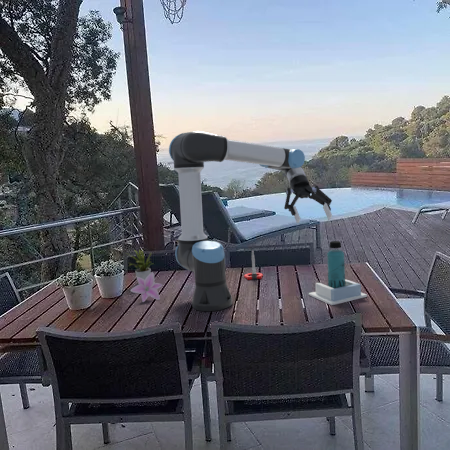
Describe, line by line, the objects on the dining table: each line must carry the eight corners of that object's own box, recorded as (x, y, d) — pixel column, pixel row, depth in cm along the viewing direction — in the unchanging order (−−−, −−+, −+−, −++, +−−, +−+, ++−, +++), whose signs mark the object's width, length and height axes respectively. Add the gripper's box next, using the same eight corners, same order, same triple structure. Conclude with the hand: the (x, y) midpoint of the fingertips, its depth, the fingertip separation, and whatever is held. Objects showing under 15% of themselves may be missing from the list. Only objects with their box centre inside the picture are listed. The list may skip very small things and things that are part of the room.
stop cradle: (331, 305, 153) (331, 292, 152) (308, 295, 166) (308, 283, 165) (367, 296, 159) (366, 284, 159) (342, 287, 172) (342, 275, 171)
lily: (127, 304, 174) (129, 287, 169) (136, 285, 184) (138, 268, 179) (156, 311, 174) (159, 294, 169) (163, 292, 184) (166, 275, 179)
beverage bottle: (327, 296, 160) (325, 243, 157) (328, 290, 167) (326, 239, 164) (346, 296, 159) (344, 243, 156) (345, 291, 165) (344, 239, 162)
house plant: (120, 283, 202) (117, 249, 199) (146, 276, 211) (143, 244, 208) (136, 289, 191) (132, 253, 188) (162, 281, 200) (159, 247, 197)
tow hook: (243, 275, 201) (245, 280, 192) (241, 248, 200) (243, 251, 191) (261, 274, 202) (264, 279, 192) (260, 247, 200) (262, 250, 191)
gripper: (322, 183, 190) (340, 221, 178) (268, 188, 185) (283, 228, 173) (327, 171, 184) (346, 210, 172) (272, 176, 179) (287, 216, 167)
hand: (314, 219), depth 172 cm, fingers open, 13 cm apart
